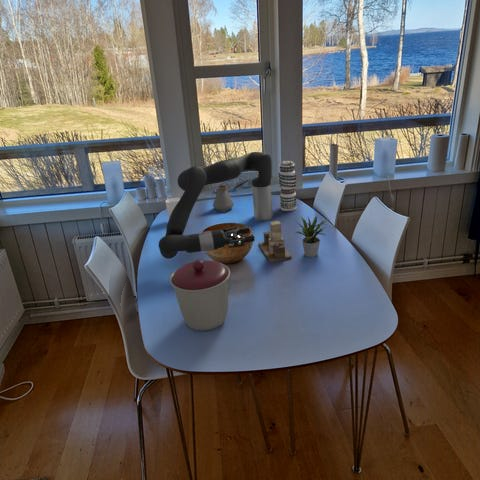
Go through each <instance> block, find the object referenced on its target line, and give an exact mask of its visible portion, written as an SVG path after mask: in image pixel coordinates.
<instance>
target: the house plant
mask: <svg viewBox="0 0 480 480" xmlns="http://www.w3.org/2000/svg"><path fill="white" fill-rule="evenodd" d="M318 218H319V216H318V215H314V218H313V221H312V222H311V220H310V217H309V216H307V220H308V222H307V221H306V219H305V218H304V217H303V216H300V219H301V222H302V224H303V225H302V224H301V223H299V222H297V224H298V225H299V226H300V227H301V228H302V229H301V231H295V232H294V234H299V235H303V236H304V237H303V238H302V239H301V242H302V249H303V252H304V255H305V256H306V257H308V258H314V257H317V256H318V254H319V249H320V242H321V239H320V238H319V237H318V235H321V236H326V234H325V233H323V232H324V231H325V230H324V229H326V228H327V227H322V228H321V226H322V225H325V226H326V225H327V222H328V221H329V220H330V218H329V219H324V220H322V221H321V222H320V223H318V224H317V222H318Z"/></svg>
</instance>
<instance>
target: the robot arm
mask: <svg viewBox="0 0 480 480" xmlns="http://www.w3.org/2000/svg"><path fill="white" fill-rule="evenodd" d="M272 163H273V162H272V157H271V155H270V154H269V153H268V152H261V151H252V152H249V153H246V154H244V155H242V156H239V157H232V158H227V159H223V160H220V161H216V162H215V163H211V164H209V165H208V166H205V167H201V166H198V165H195V166H191V167H189V168H187V169H185V170H183V171H181V173H179V175H178V176H177V186H178V187H179V188H180V189H181V190H182V191H184V192H183V194H182V196H181V197H180V198H181V199H180V200H179V202H178V203H177V205H176V206H175V208H174V209H173V211H172V213H171V215H170V218H168V221H167V224H166V229H165V235H164V236H162V237H161V238H160V239H159V241H158V248H159V252H160V255H161V256H162V257H163V258H164V259H166V260H171V259H173V258H175V257H176V256H177V255H178V253H179V252H186V253H188V254H193V253H199V252H210V251H216V250H219V249H218V248H221V247H224V246H225V247H226V245H228V248H238V247H244V246H245V244H246V243H253V242H255V240H256V237H255V235H247V234H250V233H251V231H250V228H249V227H243V228H240V227H238V226H233V227H228V228H223V229H215V230H207V231H202V232H199V233H192V234H186V235H185V234H184V232H185V230H186V227H187V223H188V221H189V219H190V218H189V217H190V216H191V213H192V211H193V208H194V206H195V205H196V204H195V203H196V202H197V200H198V198H199V196H200V194H201V192H202V190H203V189H204V187H205V186H208V185H212V184H220V183H224V182H228V181H231V180H234V179H237V178H239V176H241V174H242V173H243V172H244V173H245V172H249V171H251V172H257V173H258V175H257V177H255V178H252V180H251V190H252V204H253V205H252V206H253V214H254V215H253V217H254V219H255V220H256V221H261V222H263V221H268V220H271V219H272V218H273V200H272V185H271V184H272V182H271V181H272V175H273V174H272V173H273V172H272V170H273V169H272V168H273V167H272V166H273V165H272ZM240 235H247V236H240ZM225 247H224V248H225Z"/></svg>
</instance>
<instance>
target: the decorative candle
mask: <svg viewBox="0 0 480 480" xmlns="http://www.w3.org/2000/svg"><path fill="white" fill-rule="evenodd" d="M295 165H296V163H294V162H293V161H292V160H283V161H281V162H280V164H279V165H278V166H279V172H278V173H277V174H278V178H279V179H278V184H279V188H280V195H279V198H280V200H279V201H280V203H279V204H280V210H281V211H284V212H285V211H286V212H291V211H295V210H297V205H298V203H297V193H296V188H297V174H296V171H295Z"/></svg>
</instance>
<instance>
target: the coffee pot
mask: <svg viewBox="0 0 480 480" xmlns="http://www.w3.org/2000/svg"><path fill="white" fill-rule="evenodd" d="M246 183H249V184H250V180H249V179H246V181H243V182H241V183H239V184H237V185H236V186H234V187H232V188H230V189H228V185H226V184H225V185H224V184H223V185H222V184H221V185H217V186H216V187H215V190H216V194H215V197H214V201H213V204H212V207H213V209H215V210H216V211H217V210H218V211H217V212H219V211H225V212H228V211H227V210H229V209H230V210H231V209H232V208H233V206H234V201H233V200H232V198H231V196H230V194H229V193H230V192H232V191H233V190H235V189H237V188H239V187H241V186H243V185H244V184H246ZM227 189H228V190H227ZM230 210H229V211H230Z"/></svg>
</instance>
